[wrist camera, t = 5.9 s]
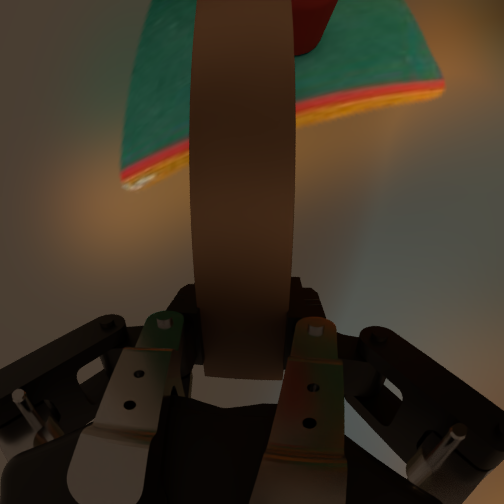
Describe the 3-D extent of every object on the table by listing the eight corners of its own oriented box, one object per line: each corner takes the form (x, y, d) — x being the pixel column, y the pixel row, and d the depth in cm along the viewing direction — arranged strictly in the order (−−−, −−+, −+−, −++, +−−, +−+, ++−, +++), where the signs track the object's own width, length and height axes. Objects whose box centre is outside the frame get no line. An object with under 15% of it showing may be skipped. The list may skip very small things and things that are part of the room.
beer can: (246, 46, 22) (231, -18, 10) (268, 3, 19) (266, -66, 8) (308, 66, 22) (334, 10, 11) (327, 22, 20) (356, -41, 8)
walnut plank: (221, -19, 8) (207, -65, 4) (282, -21, 8) (284, -69, 4) (220, 323, 14) (205, 376, 10) (280, 325, 13) (282, 380, 10)
